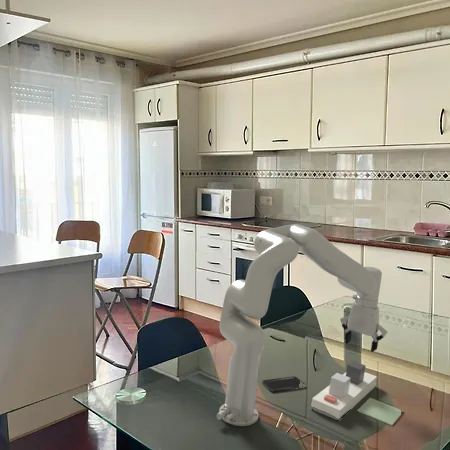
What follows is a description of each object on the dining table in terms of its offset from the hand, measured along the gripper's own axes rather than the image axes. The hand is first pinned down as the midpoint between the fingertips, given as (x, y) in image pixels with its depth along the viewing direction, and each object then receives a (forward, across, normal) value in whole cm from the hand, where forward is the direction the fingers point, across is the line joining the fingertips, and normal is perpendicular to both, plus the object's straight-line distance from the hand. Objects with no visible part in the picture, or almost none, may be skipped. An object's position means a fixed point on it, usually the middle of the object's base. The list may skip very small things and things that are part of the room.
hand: (360, 346), depth 183 cm
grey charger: (+15, 0, -15) cm, 21 cm away
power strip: (+17, 0, -8) cm, 19 cm away
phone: (+17, -20, -17) cm, 32 cm away
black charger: (+15, 0, -1) cm, 15 cm away
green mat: (+17, +13, -8) cm, 23 cm away
